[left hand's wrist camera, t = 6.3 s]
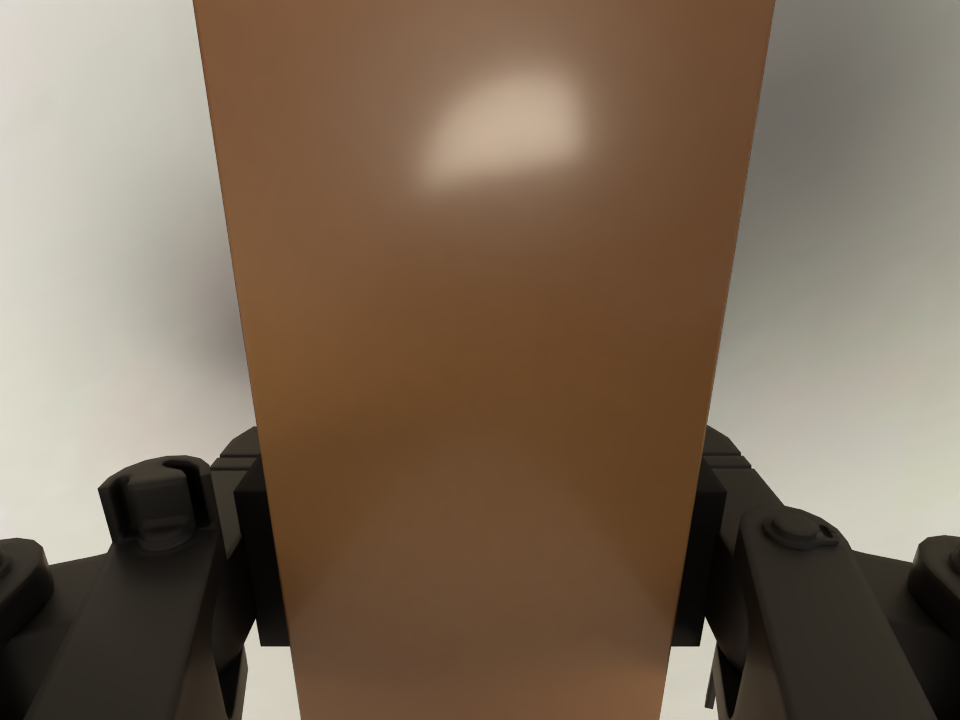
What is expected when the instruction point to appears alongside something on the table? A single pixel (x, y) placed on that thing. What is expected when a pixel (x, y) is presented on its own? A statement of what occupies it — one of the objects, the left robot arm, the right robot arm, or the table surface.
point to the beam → (482, 331)
